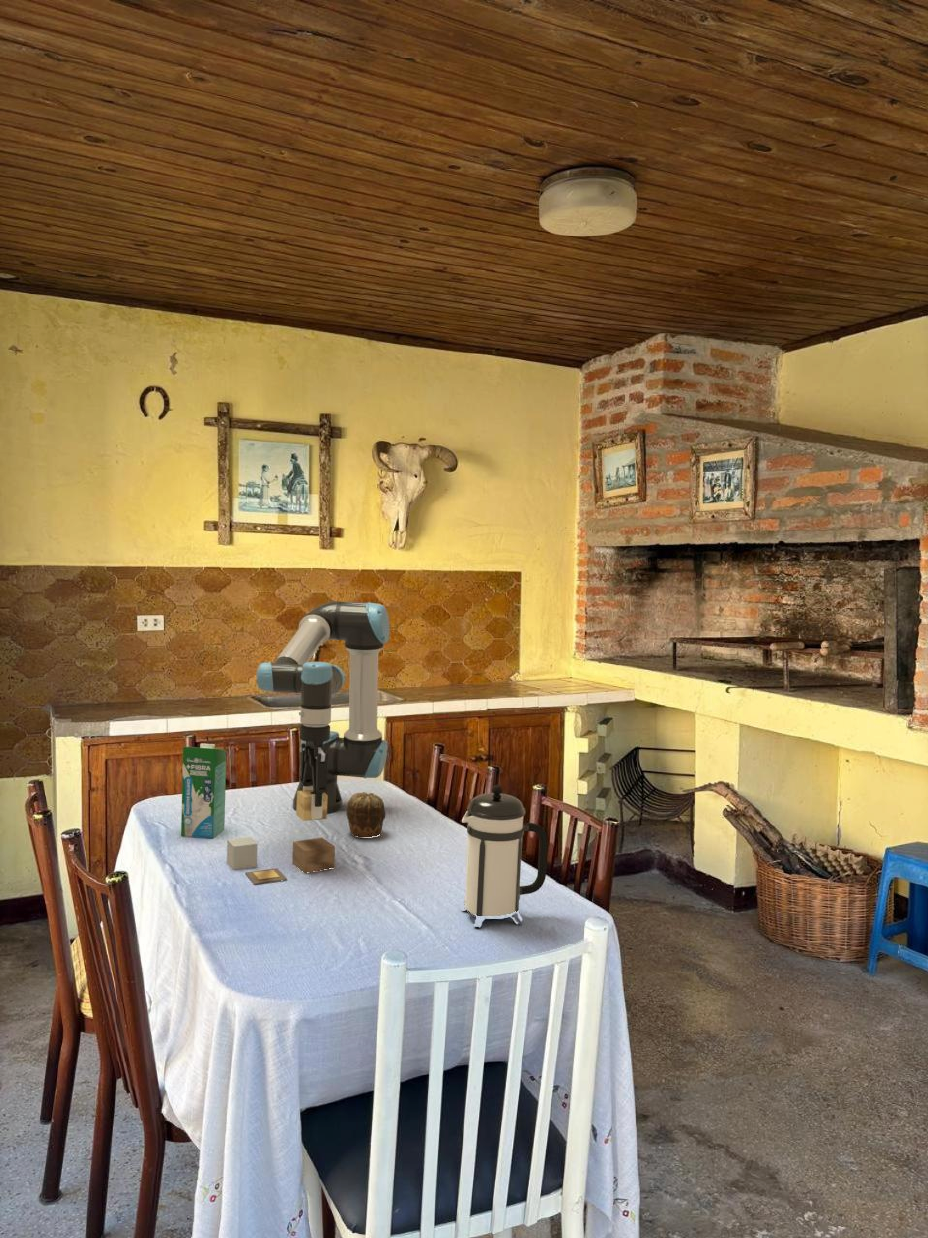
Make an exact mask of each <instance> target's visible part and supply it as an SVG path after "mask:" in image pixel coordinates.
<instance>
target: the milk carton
mask: <svg viewBox="0 0 928 1238" xmlns="http://www.w3.org/2000/svg"><path fill="white" fill-rule="evenodd" d="M215 747H216V744H214V743H213V744H212V743H200V745H199V747H196V746H183V747H182V776H181V777H182V779H181V781H182V782H181V784H182V785H181V819H180V820H181V821H180V822H181V823H180V825H181V826H180V828H181V830H180V836H181V837H185V838H186V837H188V838H199V839H201V838H202V839H214V838H215V837H216V836H217V835H219V833H221V832H223V830H225V827H226V826H225V821H226V820H225V819H226V815H225V814H226V785H227V784H226V782H227V781H226V779H227V749H220V748H215Z"/></svg>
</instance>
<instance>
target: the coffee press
mask: <svg viewBox="0 0 928 1238" xmlns="http://www.w3.org/2000/svg"><path fill="white" fill-rule="evenodd" d="M503 790H504V789H503V788H502V786H501V785H499V784H495V785H494V786H492V788H491V791H492V792H488V793H482V794H478V795H477V796H475V797H473V798H472V799H471V800H470V803H469V804H468V805H467V808H466V812H465V814H464V815H463V817H462V819H461V822H462V823H466V827H467V828H466V833H467V848H466V851H467V852H466V870H465V889H464V891H465V894H464V898H465V899H464V902H465V904H464V908H465V909H467V911H466V912H468V911H469V912H470V913H472V914H476V915H477V916H501V915H506V914H511V913H513V912H515V911H516V912H517V911H518V910H519V911H520V909H519V907H520V899H521V896H522V895H528V894H533V893H536V892H537V891H539V890H540V889H541V888H542V887H543V885H544V883H545V881H546V877H547V868H548V845H549V844H548V837H547V834H546V831H545V830H544V828H543V827H542V826H541V825H539V824H537V823H534V822H527V823H524V816H526V808H525V807H524V805H523V802H522V801H521V800H520V799H519V798H517V797H515V796H513V795H510V794H507V793H506V794H505V793H502V792H503ZM527 831H528V832H533V833H535V834H536V835H537V837H538V859H537V862H538V863H537V875H536V879H535V880H534V882H532V883H531V884H529V885H528V884H527V885H521V873H522V872H521V871H522V870H521V869H522V849H523V836H524V833H525V832H527ZM469 912H468V913H469ZM470 913H469V914H470Z"/></svg>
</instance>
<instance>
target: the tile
mask: <svg viewBox="0 0 928 1238" xmlns="http://www.w3.org/2000/svg"><path fill="white" fill-rule="evenodd" d="M245 875H246V877H247V878H248V879H249V880H250V881H251V883H252V884H253V885H254V886H259V885H264V884H263V883H266V884H271V883H270V882H273V883H275V882H274V881H280V882H282V881H281V880H287V881H288V878H287V877H286V876H285V875H284V873H282V872H281V870H280V869H279V868H278V867H277V868H270V869H269V868H268V869H261V870H254V871H245ZM267 882H269V883H267ZM258 884H259V885H258Z"/></svg>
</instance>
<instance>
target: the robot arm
mask: <svg viewBox="0 0 928 1238" xmlns="http://www.w3.org/2000/svg"><path fill="white" fill-rule="evenodd" d="M390 631H391V629H390V618H389V614H388V611H387V609H386V607H385V606H384V605H383V604H381V603H373V602H370V601H369V602H366V601H363V602H361V601H340V600H333V601H329V602H326V603H323V604H320V605H318V606H316V607H315V608H313V609H311V610H310V611H308V612H307V613H306V614H305V615H304V616H303V617H302V619H301V620H300V621H299V624H298V630H297V631H296V633H294V635H293V636H292V638H291V639H290V640H289V641H288V643H287V644H286V646H285V647H284V648H283V649H282V651H281V653H280V654H279V655H278V656H277V658H276V659H275V660H274V662H271V661H269V662H261V663H260V664H259V665H258V668H257V670H256V685H257V687H258V689H259V690H261V691H263V692H264V691H265V692H271V693H287V694H290V693H291V694H300V711H299V712H298V715H299V716H300V717H299V719H300V720H299V721H300V723H301V724H300V726H299V739H300V749H299V779H298V781H299V782H298V785H297V787H296V791H295V793H294V796H293V799H292V809H294V811H296V807H297V791H305V790H313V792H310V793H311V794H312V799H311V819H312V820H311V821H314V820H313V819H321V820H323V819H322V810H323V793H325V794H326V795H328V799H327V814H329V813H328V812H330V813H334V812H333V811H335V812H337V811H336V810H338V809H340V808H341V807H342V808H343V798H342V795H341V791H340V788H339V784H338V776H340V777H352V778H363V779H368V778H369V779H372V778H373V779H376V778H378V777H380V776H381V775H382V773H383V772H384V771H383V770H384V767H385V763H386V762H387V761H386V760H387V756H388V749H389V748H388V741H387V740H385V739H383V733H382V732H381V731H380V730H379V729H378V702H379V701H378V699H379V698H378V697H379V696H378V694H379V693H378V691H379V690H378V689H379V653H380V652H381V651H382V650H383V649H384V644H386V643H388V641H389V639H390ZM329 640H330V641H331V640H335V641H336V640H337V641H344V648H345V650H347V652H348V653H349V679H348V680H349V683H348V684H349V689H348V691H349V693H348V694H349V695H348V696H349V697H348V698H349V699H348V701H349V702H348V703H349V705H348V711H349V712H348V729H346V730H345V732H344V733H343V737H340V733H339V732H338V731H334V730H331V725H330V723H332V695H335V694H337V693H338V692H339V691H340V690H341V689H342V688H343V687H344V685H345V682H346V675H345V672H344V671H343V670H342V668H341V667H339V666H338V665H335V664H331V663H329V662H324V661H310V660H311V659H312V657H313V656H314V655H315V653H316V651H317V650H318V648H319V647H320V645H322V644H325V643H327V641H329ZM342 808H341V809H342ZM341 809H340V810H341ZM338 811H339V810H338Z"/></svg>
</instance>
